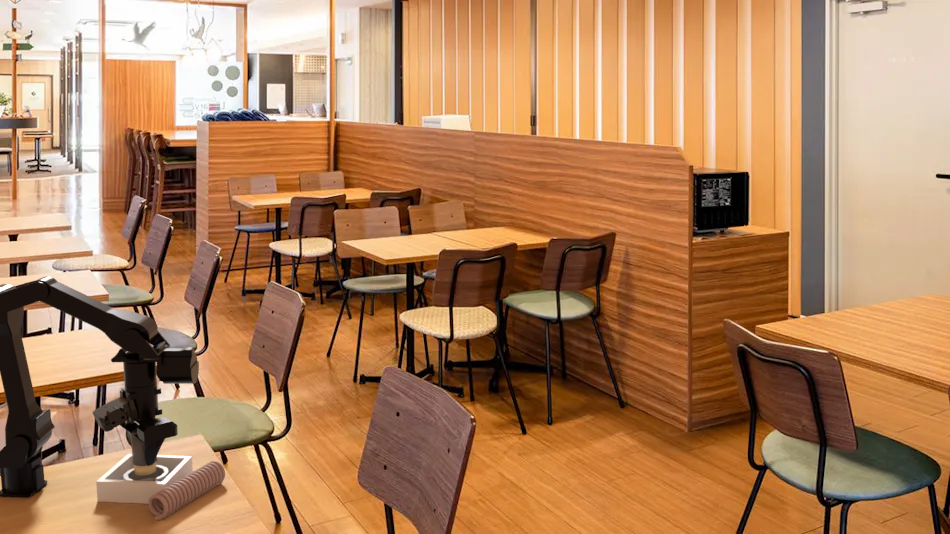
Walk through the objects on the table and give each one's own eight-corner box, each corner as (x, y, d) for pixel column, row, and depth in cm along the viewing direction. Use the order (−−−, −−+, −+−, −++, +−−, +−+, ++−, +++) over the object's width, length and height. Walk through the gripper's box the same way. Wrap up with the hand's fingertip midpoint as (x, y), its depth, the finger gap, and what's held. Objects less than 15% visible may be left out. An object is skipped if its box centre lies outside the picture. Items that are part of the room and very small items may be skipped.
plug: (129, 475, 161) (126, 435, 160) (139, 465, 166) (137, 427, 164) (151, 476, 161) (149, 436, 160) (161, 466, 166) (159, 427, 164)
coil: (165, 500, 150) (229, 462, 167) (144, 493, 151) (209, 456, 168) (164, 524, 151) (228, 484, 168) (143, 517, 152) (208, 478, 169)
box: (97, 501, 158) (96, 481, 157) (129, 472, 171) (128, 453, 170) (165, 504, 157) (164, 484, 157) (192, 475, 170) (191, 456, 169)
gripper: (79, 379, 162) (85, 456, 165) (114, 405, 148) (119, 489, 151) (138, 368, 169) (142, 443, 172) (176, 392, 156) (180, 472, 158)
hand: (145, 461), depth 163 cm, fingers closed on plug, 4 cm apart
